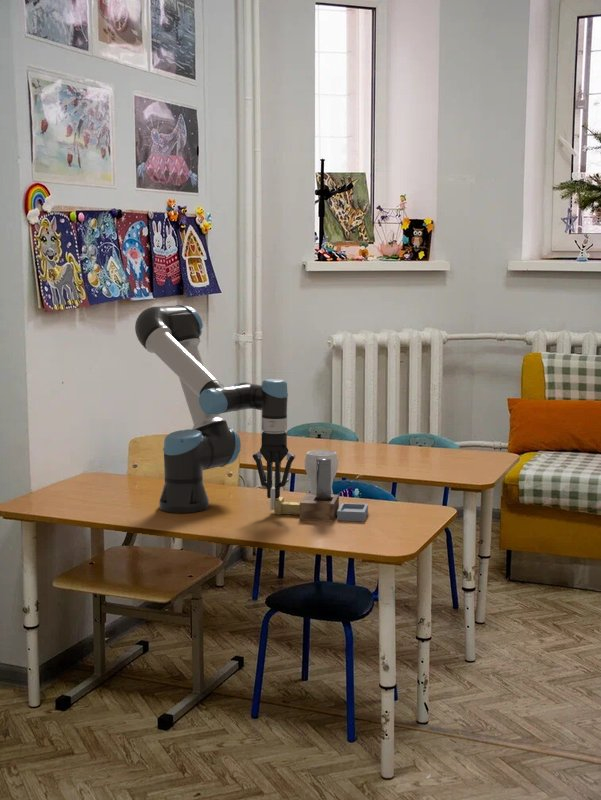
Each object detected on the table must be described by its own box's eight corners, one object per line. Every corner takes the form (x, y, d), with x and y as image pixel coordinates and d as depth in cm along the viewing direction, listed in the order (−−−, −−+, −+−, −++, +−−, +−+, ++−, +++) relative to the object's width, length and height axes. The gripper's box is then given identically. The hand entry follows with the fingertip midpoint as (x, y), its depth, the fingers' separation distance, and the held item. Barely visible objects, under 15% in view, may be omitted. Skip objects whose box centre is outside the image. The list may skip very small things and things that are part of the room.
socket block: (299, 519, 294) (299, 502, 294) (306, 509, 306) (306, 493, 305) (333, 520, 293) (333, 504, 292) (338, 510, 304) (338, 494, 304)
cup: (309, 503, 313) (309, 456, 311) (300, 496, 323) (300, 450, 321) (342, 501, 316) (342, 454, 313) (332, 494, 326) (332, 448, 324)
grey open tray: (337, 520, 293) (337, 511, 293) (341, 511, 303) (341, 502, 303) (364, 521, 292) (364, 512, 292) (368, 512, 302) (368, 504, 301)
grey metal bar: (315, 516, 297) (315, 460, 295) (317, 513, 302) (317, 457, 299) (329, 517, 297) (329, 461, 294) (331, 513, 301) (332, 458, 298)
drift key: (274, 514, 299) (274, 500, 299) (277, 510, 304) (277, 497, 303) (313, 516, 297) (313, 502, 297) (316, 512, 302) (316, 498, 301)
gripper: (250, 432, 295) (249, 510, 299) (293, 434, 293) (292, 513, 296) (255, 428, 303) (255, 504, 306) (297, 430, 301) (296, 507, 304)
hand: (273, 508), depth 301 cm, fingers closed
